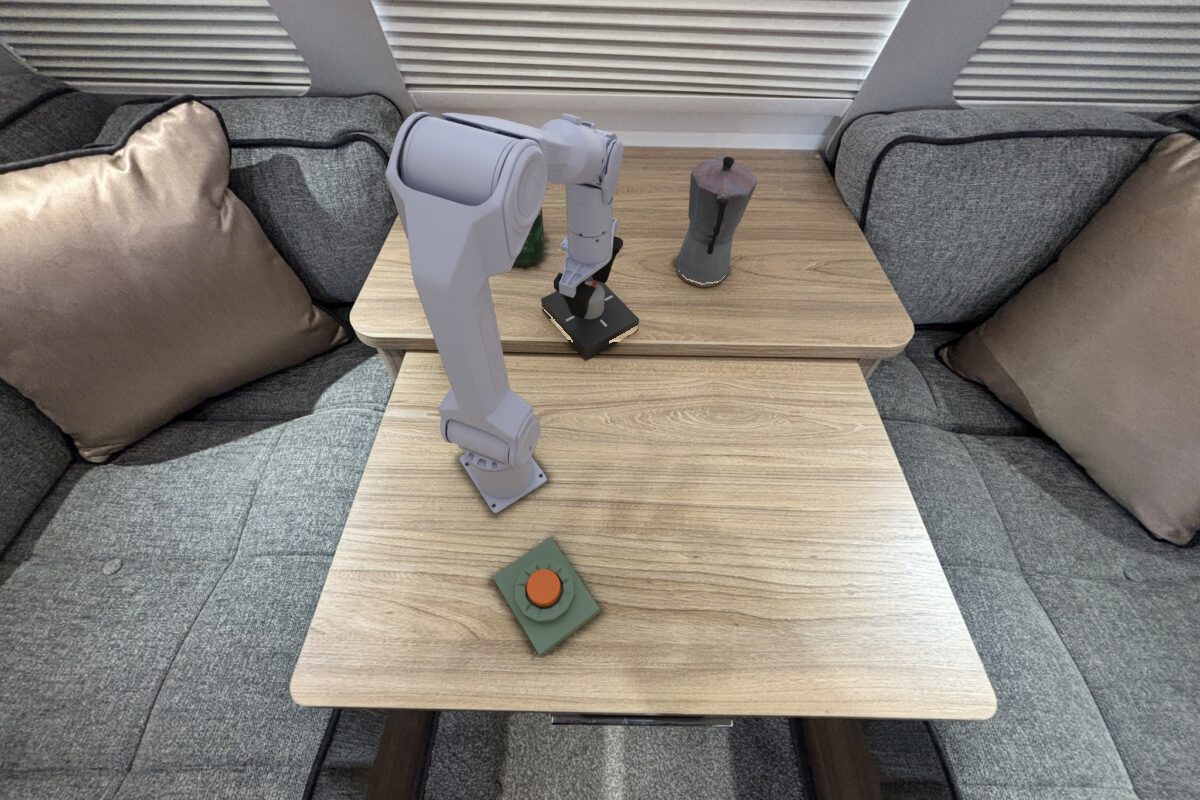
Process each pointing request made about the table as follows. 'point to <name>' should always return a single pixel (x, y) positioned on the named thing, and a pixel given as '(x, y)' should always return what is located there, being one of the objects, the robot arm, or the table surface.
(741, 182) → the moka pot
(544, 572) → the power button
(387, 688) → the table surface
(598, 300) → the temp dial
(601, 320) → the dial panel
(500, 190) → the robot arm
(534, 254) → the coffee jar
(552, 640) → the base
